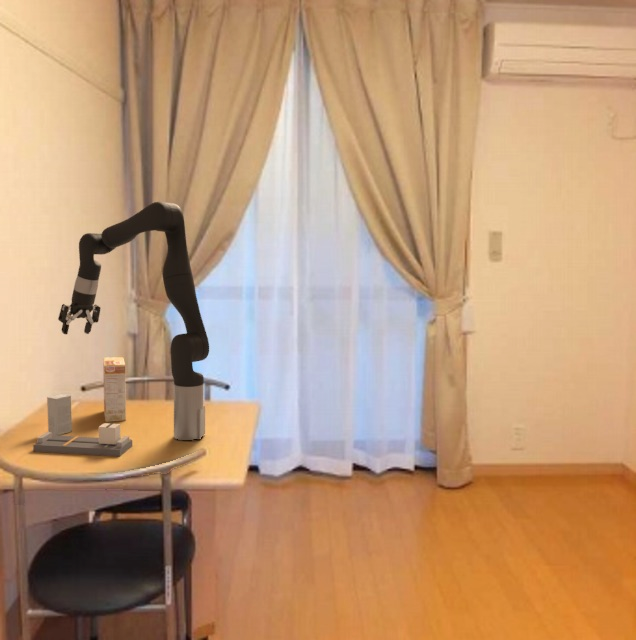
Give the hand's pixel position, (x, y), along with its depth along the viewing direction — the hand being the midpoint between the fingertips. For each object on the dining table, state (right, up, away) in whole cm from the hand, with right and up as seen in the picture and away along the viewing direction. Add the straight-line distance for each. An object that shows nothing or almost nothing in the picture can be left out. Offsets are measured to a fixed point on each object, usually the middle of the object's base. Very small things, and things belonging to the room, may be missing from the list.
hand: (75, 333), depth 246 cm
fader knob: (+23, -31, -37) cm, 54 cm away
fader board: (+15, -34, -36) cm, 52 cm away
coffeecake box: (+13, -29, +1) cm, 32 cm away
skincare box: (+2, -31, -21) cm, 38 cm away
